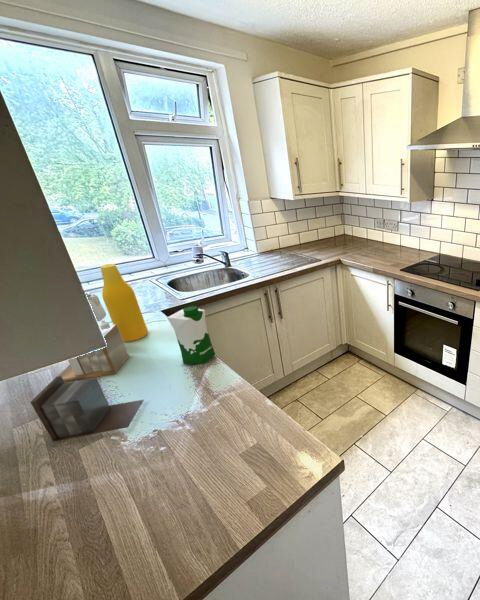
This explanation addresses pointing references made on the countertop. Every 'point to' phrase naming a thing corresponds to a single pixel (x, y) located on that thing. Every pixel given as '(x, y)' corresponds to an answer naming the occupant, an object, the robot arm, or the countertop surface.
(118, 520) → the countertop surface
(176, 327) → the milk carton
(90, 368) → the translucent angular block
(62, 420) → the grey book rack
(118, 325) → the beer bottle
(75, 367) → the white book
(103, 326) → the eye dropper bottle
